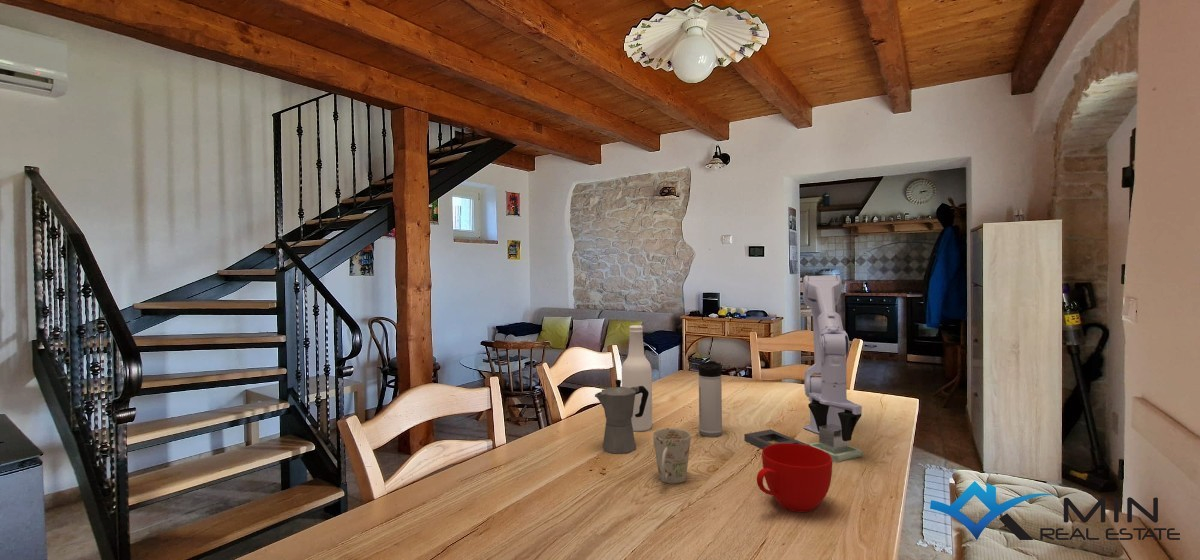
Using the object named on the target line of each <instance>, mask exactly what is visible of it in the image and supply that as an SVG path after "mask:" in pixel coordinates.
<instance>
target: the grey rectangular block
mask: <svg viewBox="0 0 1200 560" xmlns="http://www.w3.org/2000/svg"><path fill="white" fill-rule="evenodd" d="M818 435H819V439H818V440H819V441H818V442H819V448H820V449H823V450H825V451H828V452H830V453H833V454H835V455H836V454H840V453H845V452H847V445H848V441H843V440H842V428H841V427H840V426H837V425H834V424H830V425H824V426H819V434H818Z"/></svg>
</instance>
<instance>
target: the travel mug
mask: <svg viewBox="0 0 1200 560" xmlns="http://www.w3.org/2000/svg"><path fill="white" fill-rule="evenodd" d="M722 389H723V388H722V364H721V363H719V362H716V361H715V360H709V361H706V362H705V361H704V362H701V363H699V364H698V423H699V424H698V426H699V427H698V428H699V430H698V431H699V432H698V433H699V434H700V435H701V436H702V437H707V438H717V437H720V436H722V435H723V408H722V406H723V405H722V404H723V400H722V397H723V396H722V395H723V394H722V391H723V390H722Z"/></svg>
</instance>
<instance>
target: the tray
mask: <svg viewBox="0 0 1200 560" xmlns="http://www.w3.org/2000/svg"><path fill="white" fill-rule="evenodd" d="M807 444H808V445H810V446H812V447H815V448H818V449H820V448H819V441H817V442H811V443H807ZM821 450H823V449H821ZM823 451H825V450H823ZM825 452H827V453H829V455H830V456H831V457H832V463H833V462H834V463H839V462H842V461H848V460H852V459H857V458H861V457H864V456H863V455H864V454H863V452H864V451H863V449H860V448H857V447H854V446H852V445H850V444H847V452H845V453H840V454H836V455H835V454H833V453H830V452H828V451H825Z"/></svg>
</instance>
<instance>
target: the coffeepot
mask: <svg viewBox="0 0 1200 560" xmlns="http://www.w3.org/2000/svg"><path fill="white" fill-rule="evenodd" d="M639 393H642V394H643V395H642V398H641V404H640V407H639V413H638V414H635V417H641V416H642V415H643V412H644V409H645V405H646V402H647V398H648V395H649V392H648V390H647V389H646V388H645V387H644V386H638V387H631V388H626V387H622V379H615V386H612V387H608V388H604V389H601V391H599V392H597V393H595V394H594V398H596V399H597V400H598V401H599V403H600V404H601V406H602V408H603V410H604V416H605V427H604V434H603V435H604V436H603V441H602V450H603V451H604V452H606V453H609V454H614V455H623V454H630V453H632V452H634V451H636V449H637V446H636V439H635V433H634V431H633V427H632V422H631V417H632V416H633V408H634V400H635V395H636V394H639Z"/></svg>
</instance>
